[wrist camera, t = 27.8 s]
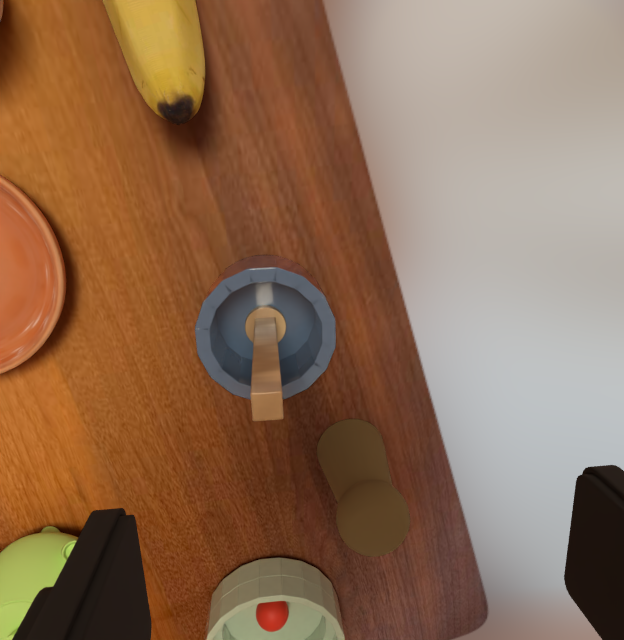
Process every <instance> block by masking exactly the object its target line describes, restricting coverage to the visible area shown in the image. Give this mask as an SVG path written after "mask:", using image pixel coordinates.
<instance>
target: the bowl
mask: <svg viewBox="0 0 624 640" xmlns="http://www.w3.org/2000/svg"><path fill="white" fill-rule="evenodd" d="M275 601H286V603H287V605H288V609H289V615H288V619H287V622H286V624H285V625H284V626H283V627H282V628H281V629H280V630H278V631H275V632H268V631H266V630H264V629H262V628H261V627H260V625H259V624H258V622H257V619H256V608H257V605H258V604H259V603H266V602H275ZM204 640H345V636H344V631H343V625H342V620H341V614H340V608H339V603H338V598H337V595H336V592H335V590H334V588H333V586H332V583H331V582H330V581H329V580H328V579H327V578H326V577H325V576H324V575H323V574H322V573H321V572H320V571H319V570H318V569H317V568H315V567H313V566H311V565H309V564H307V563H305V562H303V561H299V560H293V559H287V558H280V557H279V558H269V559H259V560H256V561H254V562H251V563H248V564H246V565H243V566H240V567H239V568H238V569H236V570H235V571H234V572H232V573H231V574H230V575H228V576H227V577H226V578H224V579H223V580H222V582H221V583H220V584H219V586H218V587H217V589H216V590H215V591H214V593H213V594H212V598H211V601H210V605H209V608H208V614H207V622H206V630H205V638H204Z"/></svg>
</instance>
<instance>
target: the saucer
mask: <svg viewBox="0 0 624 640" xmlns="http://www.w3.org/2000/svg"><path fill="white" fill-rule="evenodd" d="M65 294H66V272H65V265H64V260H63V256H62V252H61V249H60V246H59V244H58V241H57V238H56V236H55V234H54V232H53V230H52V228H51V226H50V224H49V223H48V221H47V220H46V218H45V217H44V215H43V214H42V212H41V211H40V210H39V208H38V207H37V206H36V205H35V204H34V203H33V201H32V200H31V199H30V198H29V197H28V196H27V195H26V194H25V193H24V192H22V191H21V190H20V189H19V188H18V187H17V186H15V185H14V184H13V183H11V182H10V181H9V180H7V179H6V178H4V177H3V176H1V175H0V374H2V373H4V372H6V371H9V370H11V369H13V368H15V367H17V366H18V365H20V364H22V363H23V362H25V361H26V360H27V359H29V358H30V357H31V356H32V355H33V354H35V353H36V352H37V351H38V350H39V349H40V348H41V346H42V345H43V344H44V343H45V341H46V340H47V339H48V337H49V336H50V334H51V333H52V331H53V329H54V328H55V326H56V324H57V322H58V320H59V317H60V315H61V312H62V309H63V305H64V301H65Z"/></svg>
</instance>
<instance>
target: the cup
mask: <svg viewBox="0 0 624 640" xmlns="http://www.w3.org/2000/svg"><path fill="white" fill-rule="evenodd" d="M2 13H3V0H0V21H1V18H2Z"/></svg>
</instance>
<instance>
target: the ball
mask: <svg viewBox="0 0 624 640" xmlns="http://www.w3.org/2000/svg"><path fill="white" fill-rule="evenodd" d="M288 615H289V609H288V605H287V603H286V601H275V602H266V603H259V604H258V605H257V608H256V619H257V622H258V624H259V625H260V627H261V628H262V629H264V630H266V631H268V632H275V631H278V630H280V629H281V628H282V627H283V626H284V625H285V624H286V622H287V619H288Z"/></svg>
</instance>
